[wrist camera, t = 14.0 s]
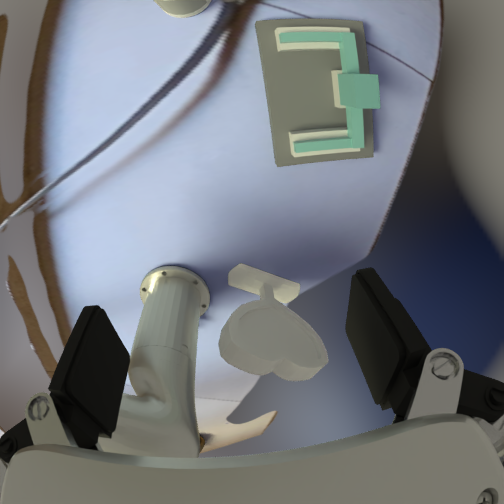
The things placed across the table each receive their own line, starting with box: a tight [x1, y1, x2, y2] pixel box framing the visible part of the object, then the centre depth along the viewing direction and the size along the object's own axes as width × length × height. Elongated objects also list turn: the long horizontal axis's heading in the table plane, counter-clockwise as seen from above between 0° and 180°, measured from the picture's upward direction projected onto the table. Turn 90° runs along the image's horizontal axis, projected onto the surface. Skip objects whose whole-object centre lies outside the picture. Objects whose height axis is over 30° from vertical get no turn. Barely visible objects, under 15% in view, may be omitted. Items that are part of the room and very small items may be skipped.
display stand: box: [255, 19, 373, 167], centre depth 31 cm, size 20×14×4 cm
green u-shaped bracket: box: [279, 32, 380, 153], centre depth 27 cm, size 15×10×5 cm, turn 8°
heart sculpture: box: [219, 263, 328, 381], centre depth 42 cm, size 16×5×18 cm, turn 64°
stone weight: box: [199, 436, 205, 452], centre depth 88 cm, size 15×7×7 cm, turn 164°
